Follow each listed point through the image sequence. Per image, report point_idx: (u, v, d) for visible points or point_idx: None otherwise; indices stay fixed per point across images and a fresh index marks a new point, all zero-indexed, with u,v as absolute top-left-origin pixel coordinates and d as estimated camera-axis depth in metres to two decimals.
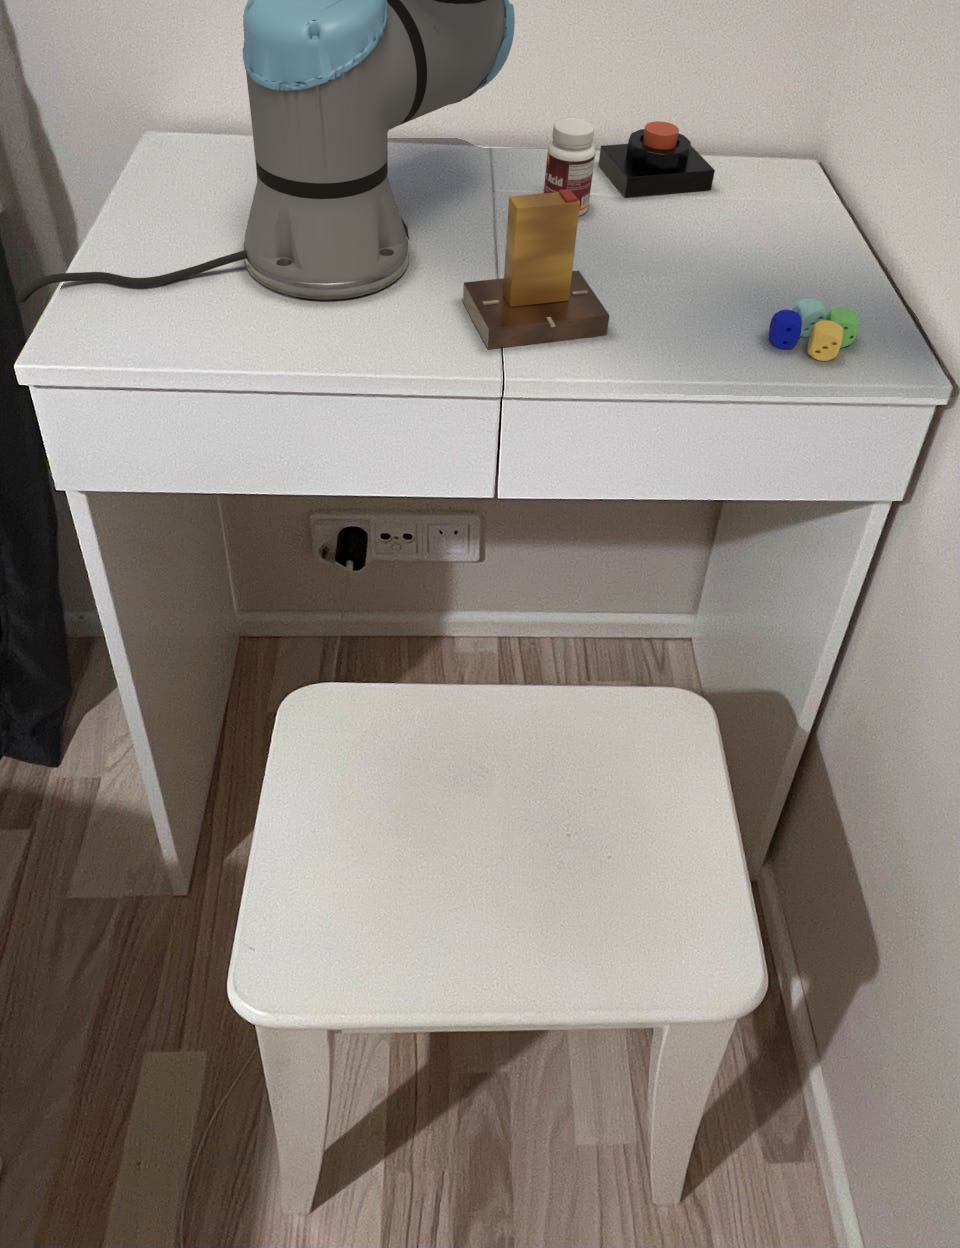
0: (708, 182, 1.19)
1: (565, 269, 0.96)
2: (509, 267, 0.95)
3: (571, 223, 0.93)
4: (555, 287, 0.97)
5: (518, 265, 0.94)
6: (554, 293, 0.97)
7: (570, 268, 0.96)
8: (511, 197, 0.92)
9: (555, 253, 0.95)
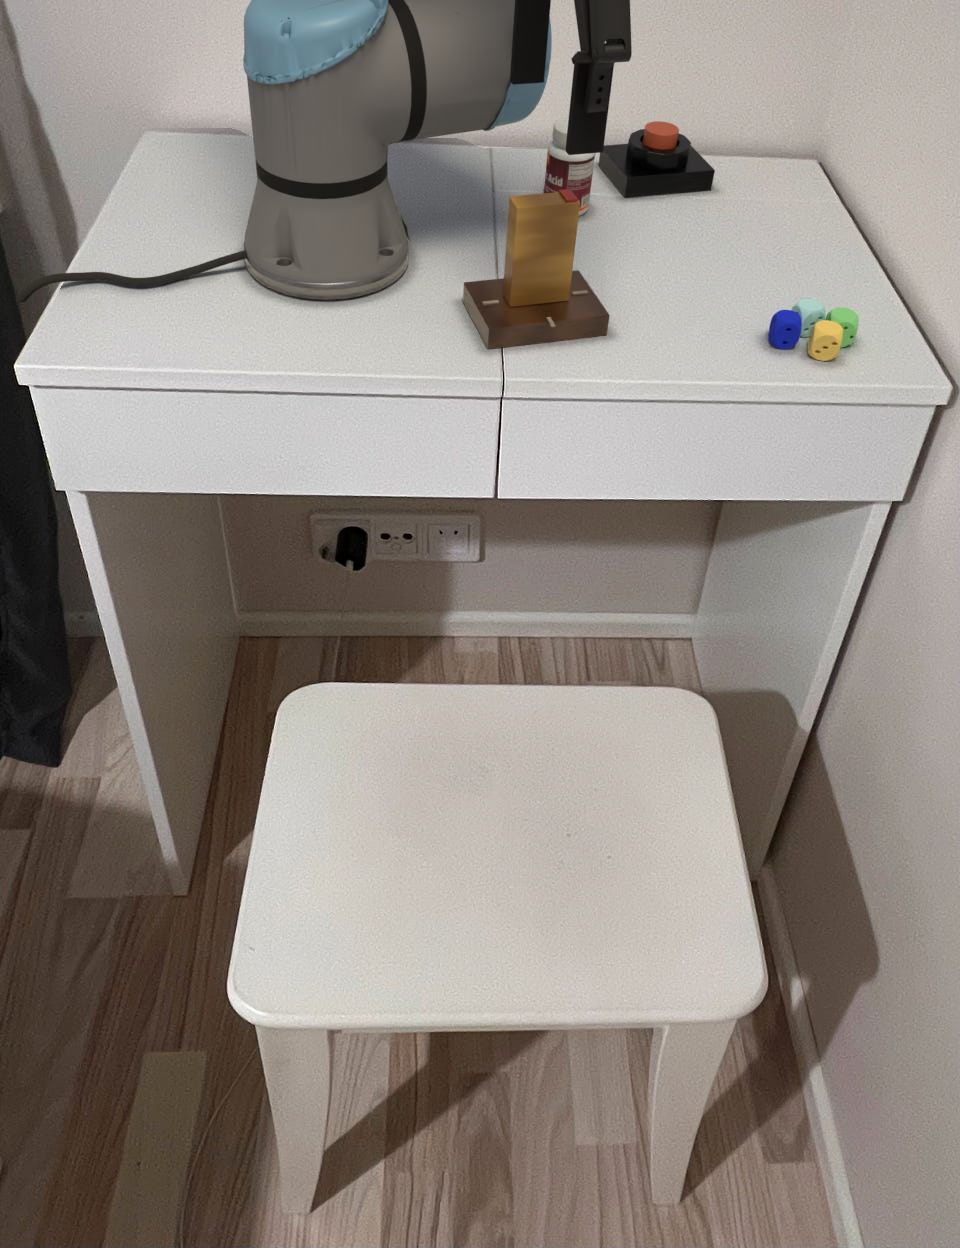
0: (708, 182, 1.19)
1: (565, 269, 0.96)
2: (509, 267, 0.95)
3: (571, 223, 0.93)
4: (555, 287, 0.97)
5: (518, 265, 0.94)
6: (554, 293, 0.97)
7: (570, 268, 0.96)
8: (511, 197, 0.92)
9: (555, 253, 0.95)
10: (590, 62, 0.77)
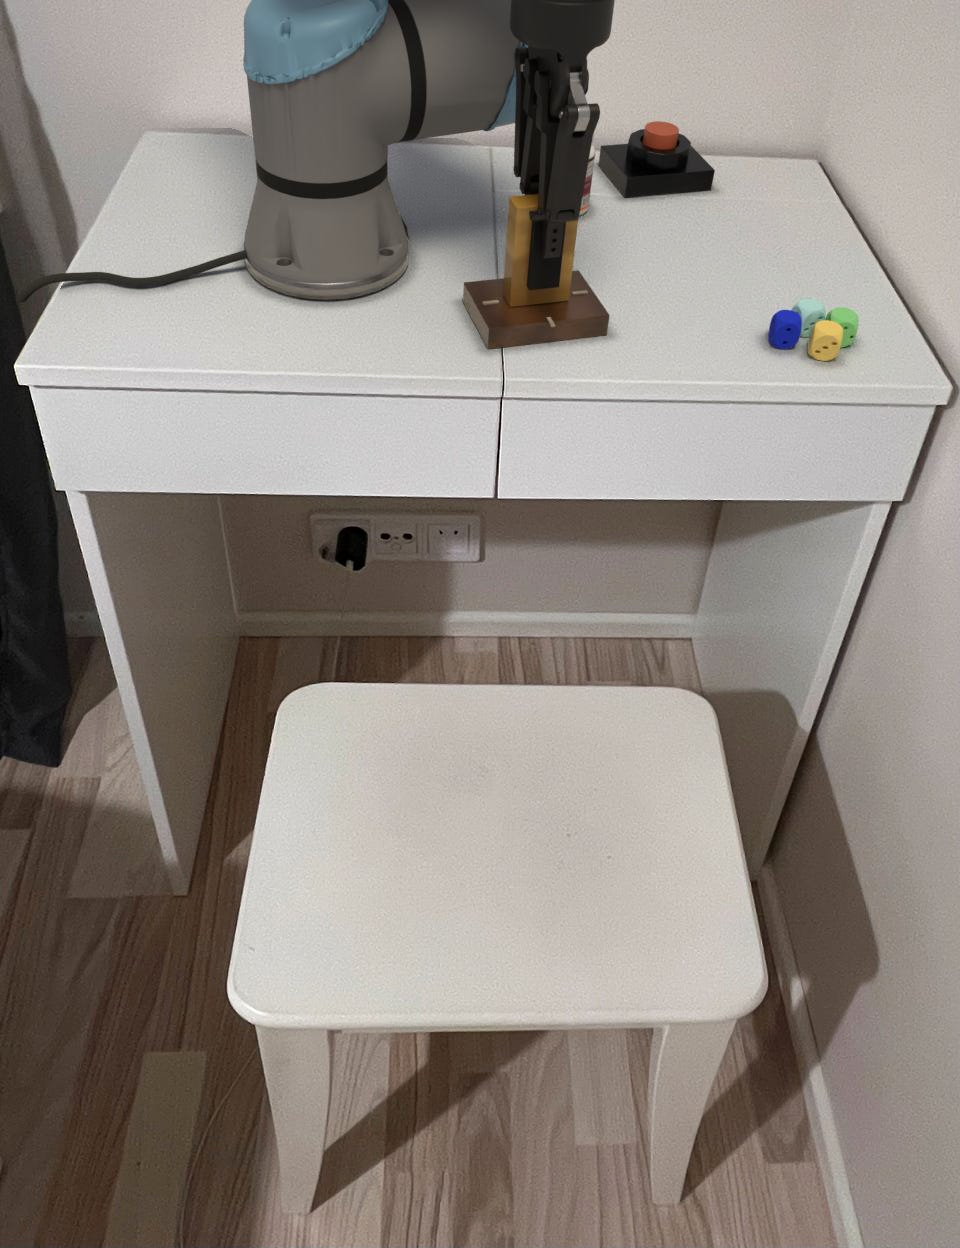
0: (708, 182, 1.19)
1: (565, 269, 0.96)
2: (509, 267, 0.95)
3: (571, 223, 0.93)
4: None
5: (518, 265, 0.94)
6: (554, 293, 0.97)
7: (570, 268, 0.96)
8: (511, 197, 0.92)
9: None
10: (544, 219, 0.91)
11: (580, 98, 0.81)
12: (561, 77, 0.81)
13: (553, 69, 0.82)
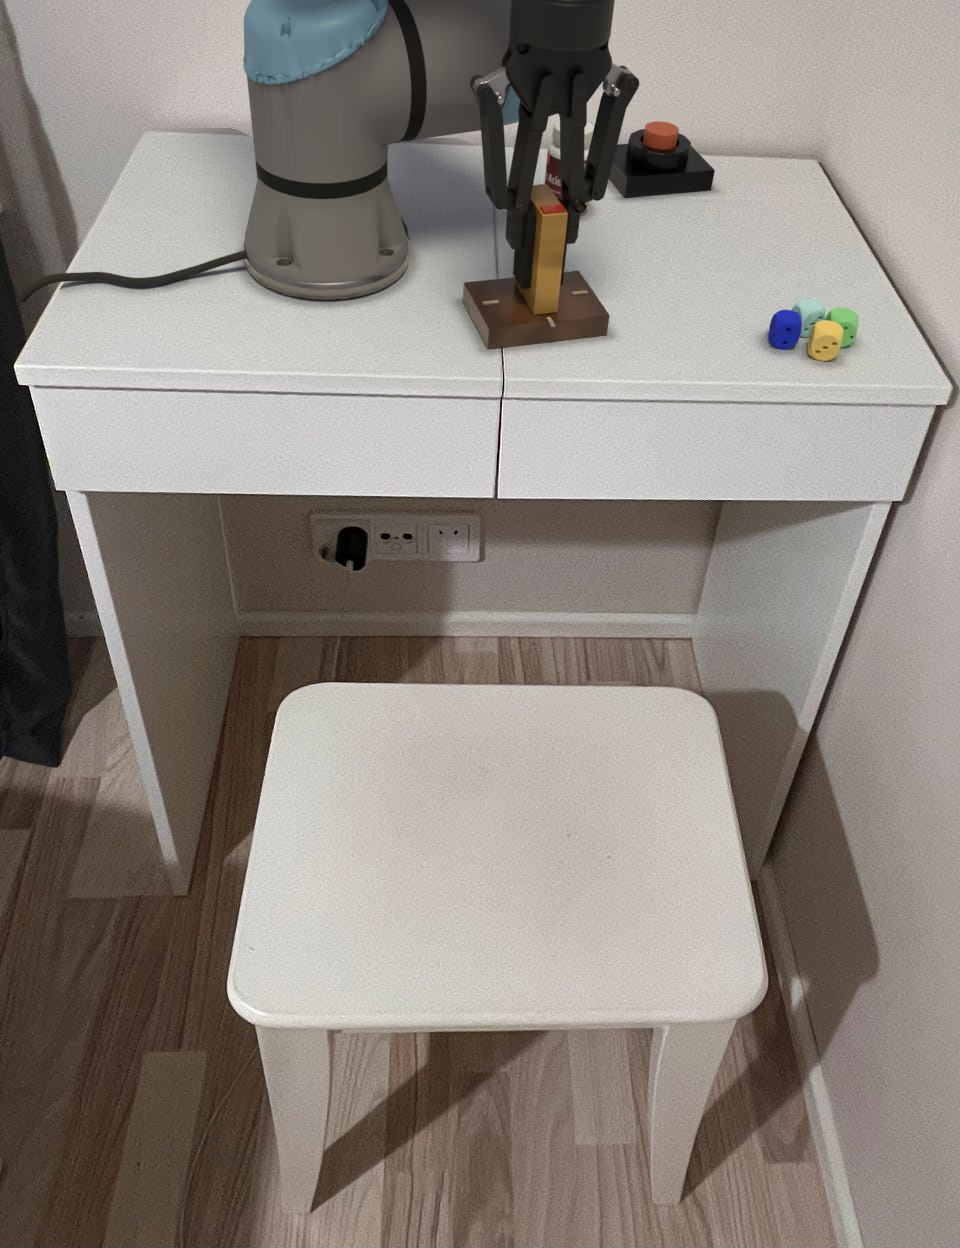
0: (708, 182, 1.19)
1: (534, 278, 0.95)
2: None
3: (538, 232, 0.92)
4: (529, 291, 0.96)
5: None
6: (529, 297, 0.97)
7: (535, 280, 0.94)
8: (544, 184, 0.94)
9: None
10: None
11: (490, 76, 0.84)
12: None
13: None
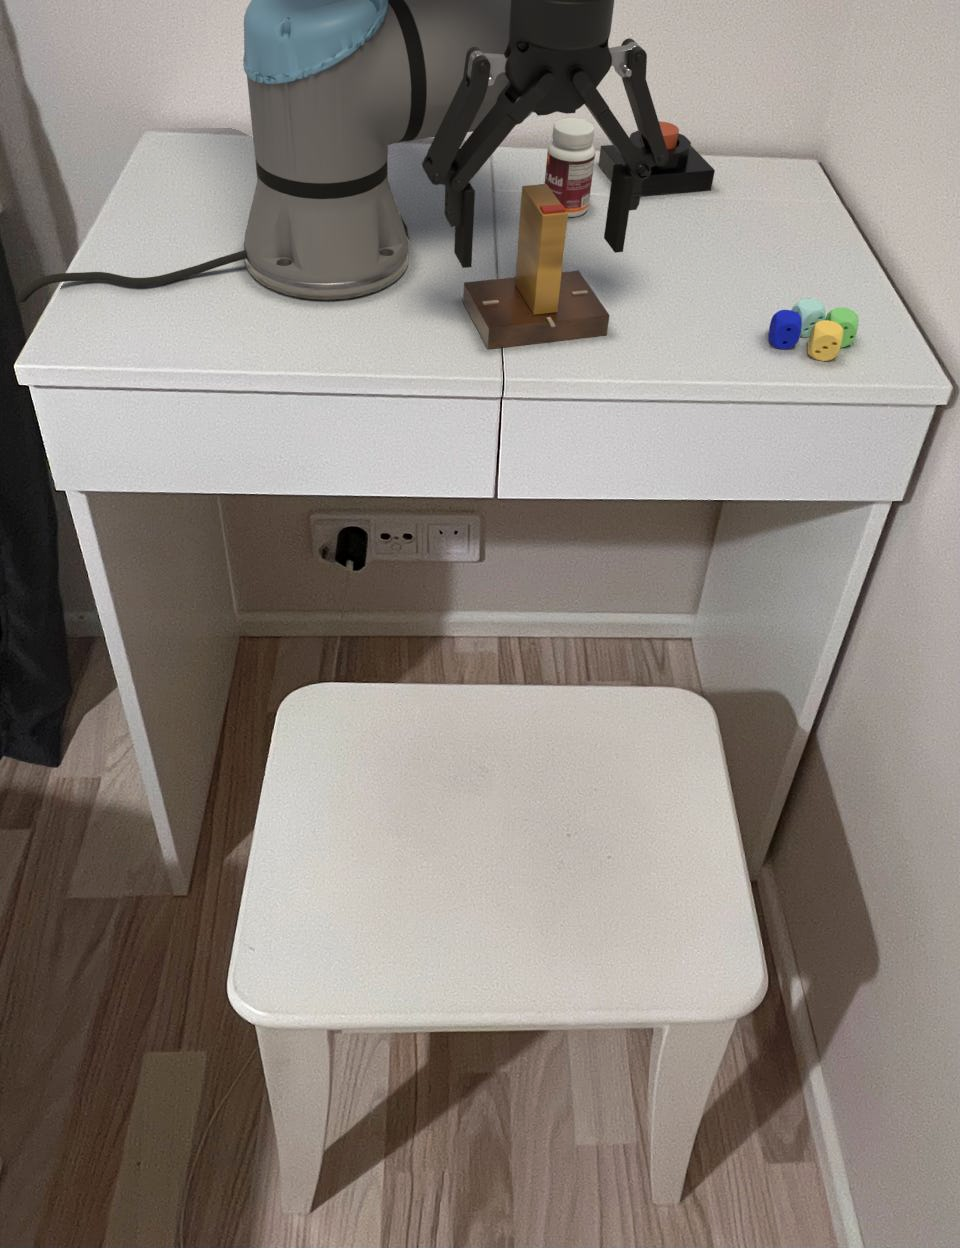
0: (708, 182, 1.19)
1: (534, 278, 0.95)
2: None
3: (538, 232, 0.92)
4: (529, 291, 0.96)
5: (519, 245, 0.97)
6: (529, 297, 0.97)
7: (535, 280, 0.94)
8: (544, 184, 0.94)
9: (531, 255, 0.94)
10: None
11: (491, 55, 0.83)
12: None
13: None
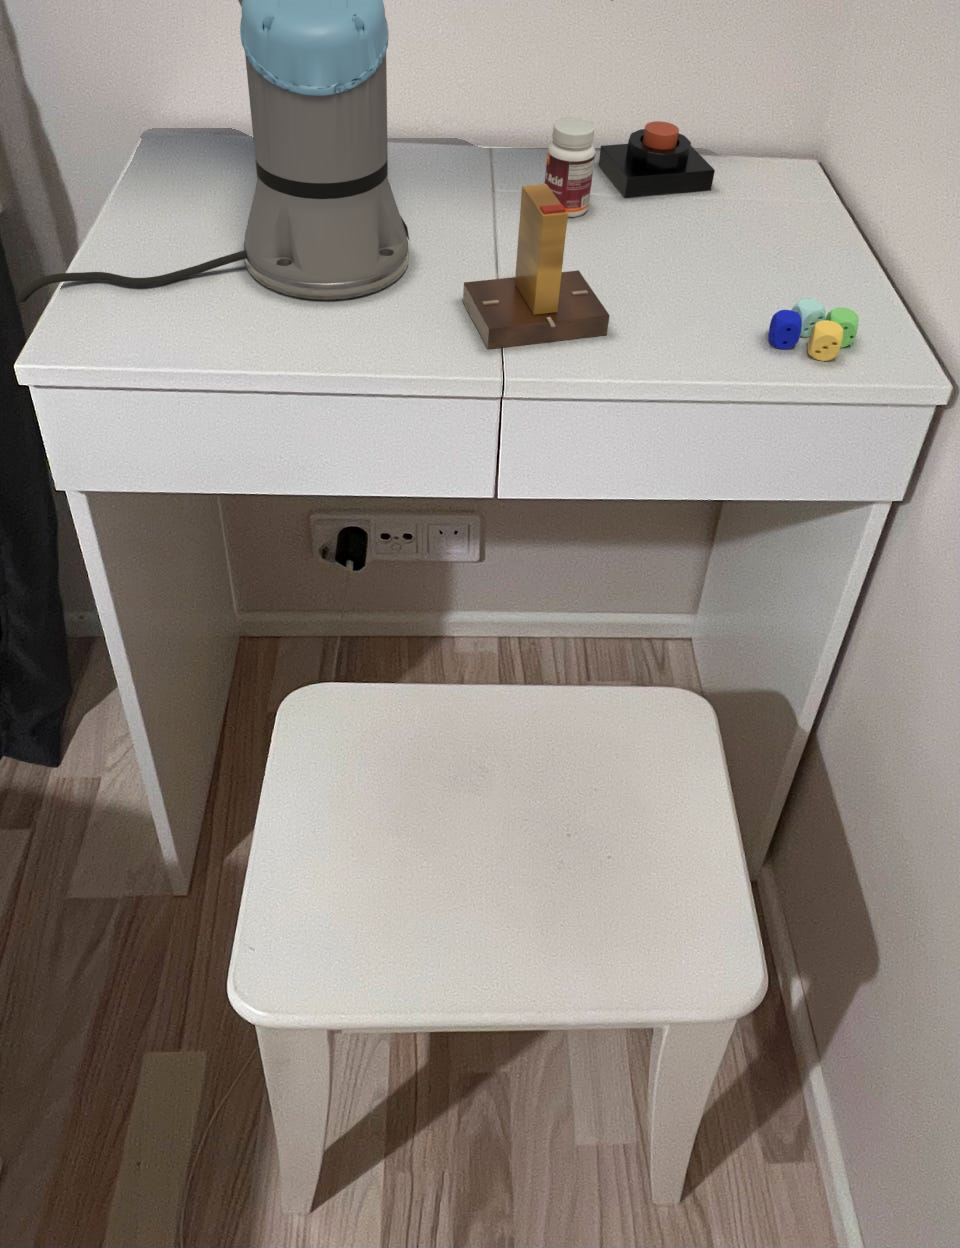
0: (708, 182, 1.19)
1: (534, 278, 0.95)
2: None
3: (538, 232, 0.92)
4: (529, 291, 0.96)
5: (519, 245, 0.97)
6: (529, 297, 0.97)
7: (535, 280, 0.94)
8: (544, 184, 0.94)
9: (531, 255, 0.94)
10: None
11: None
12: None
13: None
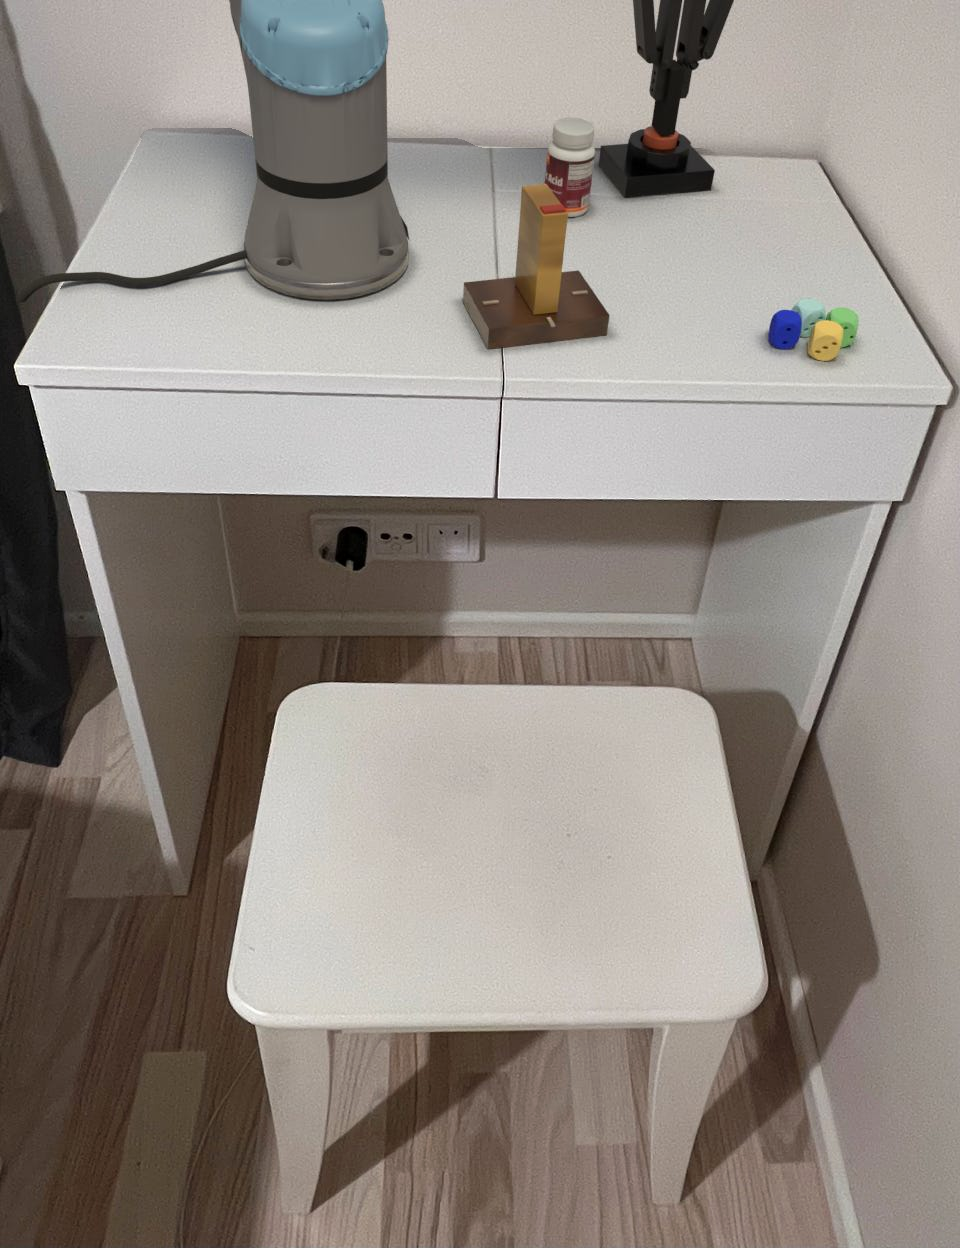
0: (708, 182, 1.19)
1: (534, 278, 0.95)
2: None
3: (538, 232, 0.92)
4: (529, 291, 0.96)
5: (519, 245, 0.97)
6: (529, 297, 0.97)
7: (535, 280, 0.94)
8: (544, 184, 0.94)
9: (531, 255, 0.94)
10: None
11: None
12: None
13: None
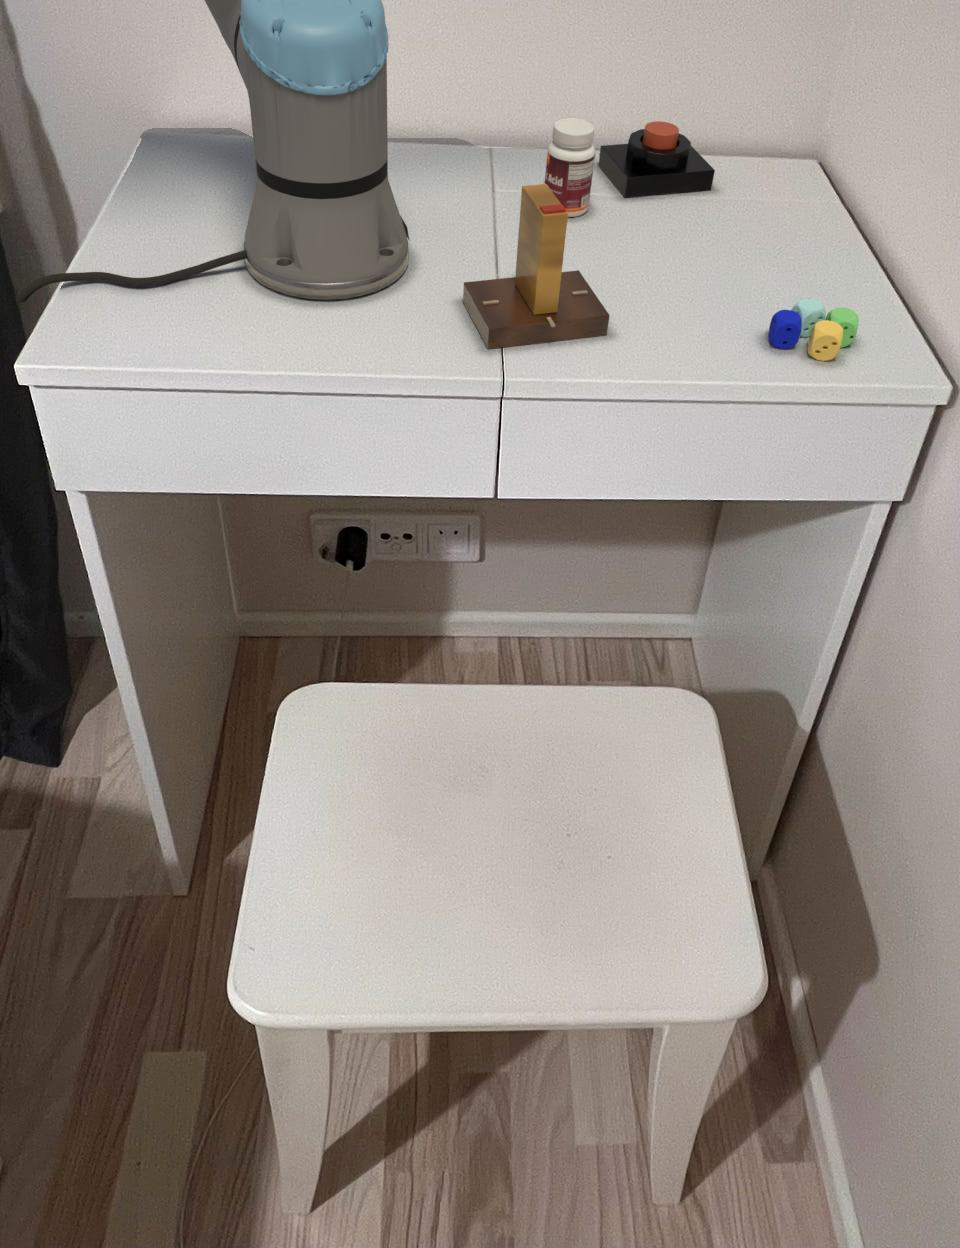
0: (708, 182, 1.19)
1: (534, 278, 0.95)
2: None
3: (538, 232, 0.92)
4: (529, 291, 0.96)
5: (519, 245, 0.97)
6: (529, 297, 0.97)
7: (535, 280, 0.94)
8: (544, 184, 0.94)
9: (531, 255, 0.94)
10: None
11: None
12: None
13: None
